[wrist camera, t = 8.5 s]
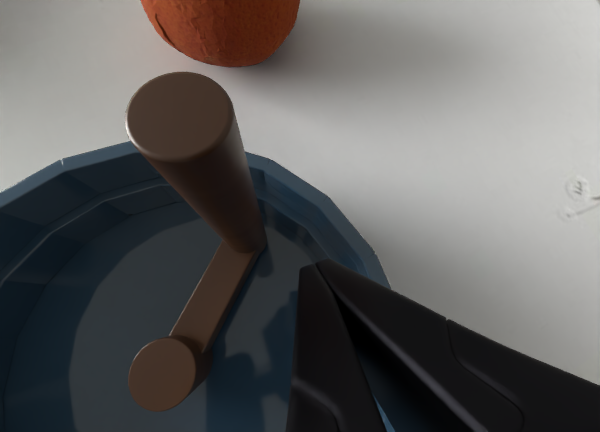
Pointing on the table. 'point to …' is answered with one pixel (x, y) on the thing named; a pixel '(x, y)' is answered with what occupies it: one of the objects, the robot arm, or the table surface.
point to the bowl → (149, 294)
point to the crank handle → (210, 206)
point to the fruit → (223, 28)
